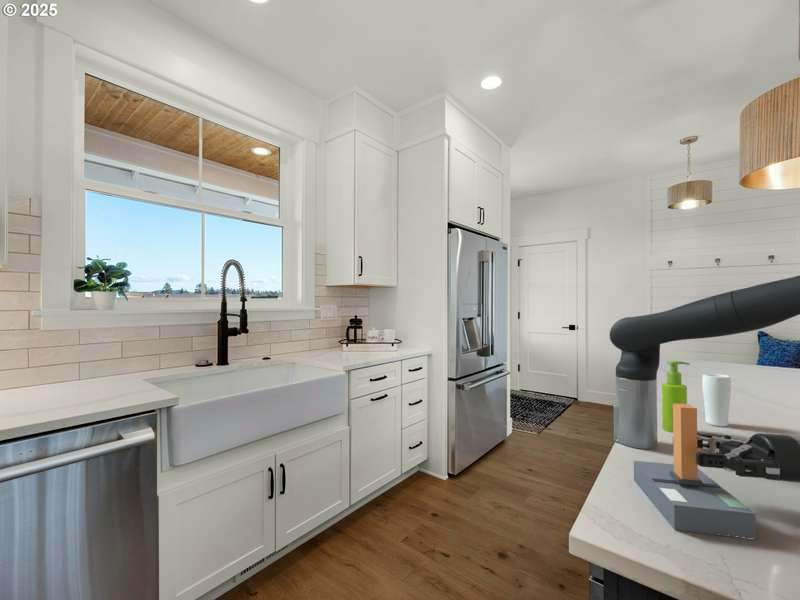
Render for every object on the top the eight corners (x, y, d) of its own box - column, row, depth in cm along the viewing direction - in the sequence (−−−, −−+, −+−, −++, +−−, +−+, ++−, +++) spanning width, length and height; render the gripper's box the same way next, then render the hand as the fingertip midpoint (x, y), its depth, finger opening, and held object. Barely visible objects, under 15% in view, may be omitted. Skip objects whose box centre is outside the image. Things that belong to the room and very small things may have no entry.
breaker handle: (691, 477, 70) (691, 403, 70) (702, 486, 66) (701, 409, 67) (669, 475, 71) (668, 402, 71) (678, 483, 67) (678, 407, 68)
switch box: (695, 486, 76) (694, 465, 76) (755, 539, 59) (755, 513, 59) (633, 480, 79) (633, 460, 79) (674, 529, 61) (674, 504, 61)
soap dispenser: (696, 433, 107) (695, 362, 108) (671, 433, 107) (670, 362, 108) (681, 427, 113) (680, 360, 113) (657, 426, 113) (657, 359, 114)
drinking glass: (702, 419, 120) (702, 372, 121) (730, 424, 116) (730, 375, 116) (702, 425, 115) (701, 375, 115) (731, 429, 111) (731, 378, 111)
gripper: (763, 423, 72) (666, 417, 76) (828, 451, 58) (705, 442, 62) (764, 463, 72) (667, 455, 76) (829, 501, 58) (706, 489, 62)
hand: (684, 449), depth 69 cm, fingers open, 8 cm apart
